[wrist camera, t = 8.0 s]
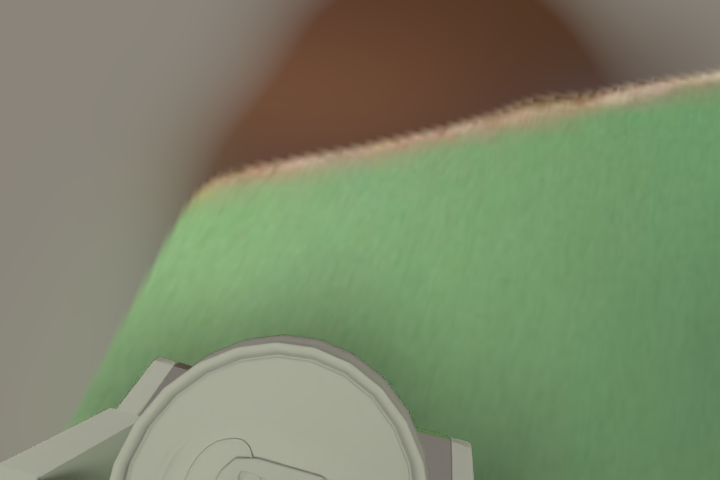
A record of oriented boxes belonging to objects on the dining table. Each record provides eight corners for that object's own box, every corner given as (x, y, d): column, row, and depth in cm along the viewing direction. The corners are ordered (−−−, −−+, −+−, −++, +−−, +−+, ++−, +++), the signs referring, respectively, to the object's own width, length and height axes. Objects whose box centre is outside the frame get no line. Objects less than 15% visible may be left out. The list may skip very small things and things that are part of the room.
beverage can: (279, 331, 18) (165, 295, 7) (392, 363, 18) (472, 381, 7) (241, 453, 17) (25, 661, 6) (361, 488, 17) (394, 778, 5)
